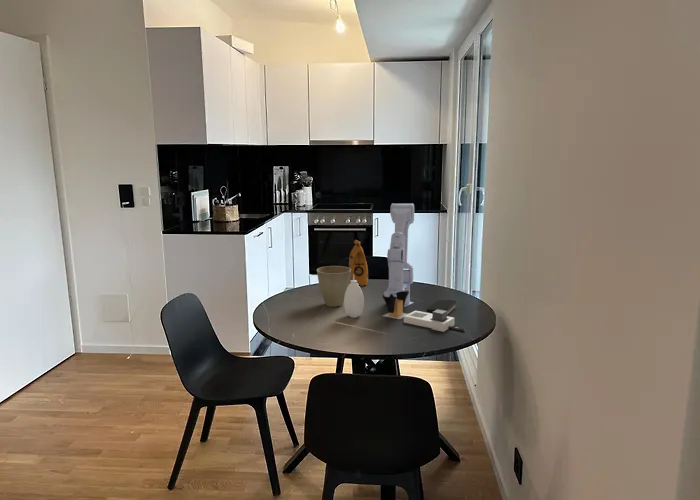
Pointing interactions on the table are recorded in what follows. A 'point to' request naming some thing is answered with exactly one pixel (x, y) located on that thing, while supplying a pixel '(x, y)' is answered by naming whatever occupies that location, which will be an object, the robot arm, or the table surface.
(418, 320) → the white slotted board
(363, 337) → the table surface
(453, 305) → the black sponge
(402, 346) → the table surface
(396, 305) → the orange plug
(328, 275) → the plant pot
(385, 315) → the grey mat
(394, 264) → the robot arm
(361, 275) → the coffee package
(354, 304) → the sauce bottle
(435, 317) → the dark grey block
